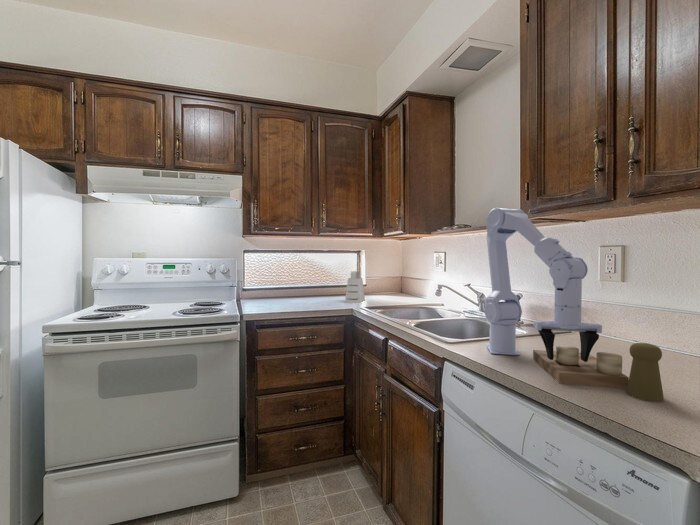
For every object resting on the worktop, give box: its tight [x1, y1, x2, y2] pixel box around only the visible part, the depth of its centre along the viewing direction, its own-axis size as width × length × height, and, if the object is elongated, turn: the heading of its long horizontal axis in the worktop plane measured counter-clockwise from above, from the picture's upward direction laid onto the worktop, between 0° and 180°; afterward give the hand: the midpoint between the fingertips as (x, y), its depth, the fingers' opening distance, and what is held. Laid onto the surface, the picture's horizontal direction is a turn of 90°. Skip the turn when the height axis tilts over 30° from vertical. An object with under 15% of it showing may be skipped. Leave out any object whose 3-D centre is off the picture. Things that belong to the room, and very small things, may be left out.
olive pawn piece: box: [626, 342, 665, 403], centre depth 73 cm, size 6×6×11 cm
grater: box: [344, 270, 366, 304], centre depth 223 cm, size 10×10×20 cm
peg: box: [555, 344, 580, 367], centre depth 87 cm, size 5×5×6 cm
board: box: [532, 349, 629, 389], centre depth 88 cm, size 20×14×6 cm
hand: (567, 359), depth 87 cm, fingers open, 7 cm apart
